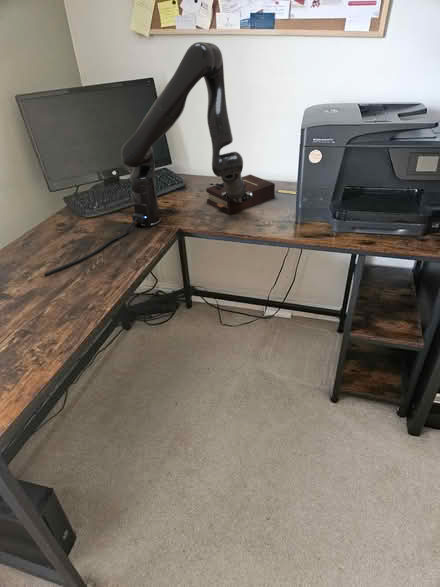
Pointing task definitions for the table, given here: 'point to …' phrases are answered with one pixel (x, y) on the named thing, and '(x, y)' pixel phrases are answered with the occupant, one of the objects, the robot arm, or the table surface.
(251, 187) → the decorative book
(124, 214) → the table surface
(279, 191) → the tape mark
